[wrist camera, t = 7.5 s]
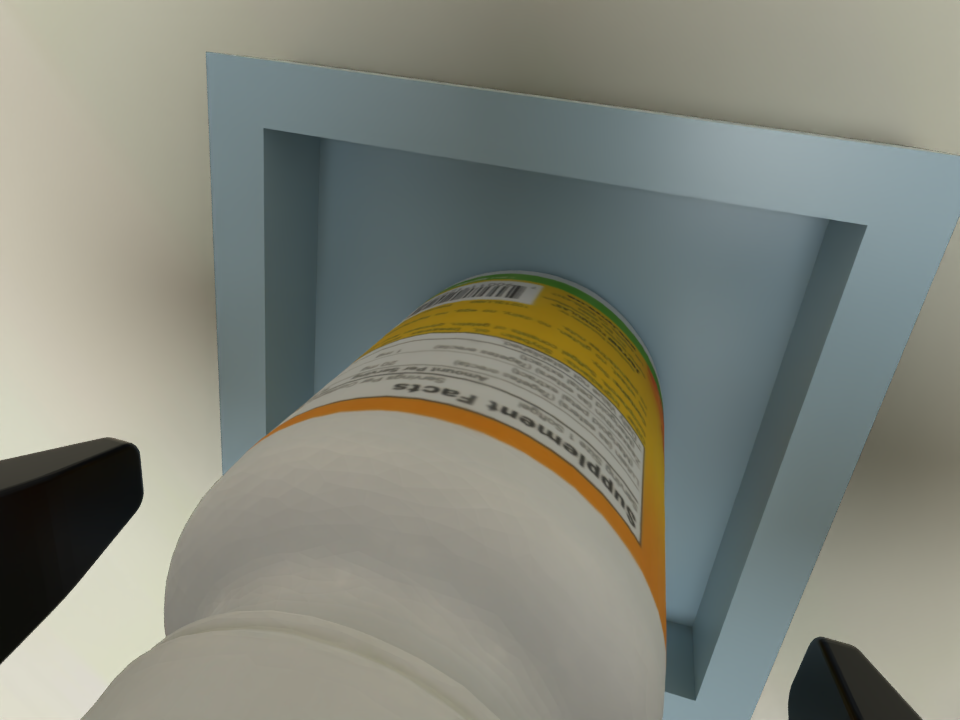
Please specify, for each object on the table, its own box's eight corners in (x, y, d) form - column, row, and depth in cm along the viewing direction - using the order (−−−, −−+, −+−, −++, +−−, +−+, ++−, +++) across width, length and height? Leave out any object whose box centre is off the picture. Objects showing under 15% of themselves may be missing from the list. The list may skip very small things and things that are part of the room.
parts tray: (914, 147, 10) (982, 159, 8) (725, 654, 15) (735, 754, 12) (289, 61, 12) (206, 52, 10) (286, 526, 17) (227, 591, 15)
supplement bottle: (553, 556, 14) (378, 1287, 5) (354, 410, 14) (-148, 910, 5) (726, 380, 12) (910, 1172, 3) (487, 205, 12) (-15, 497, 3)
